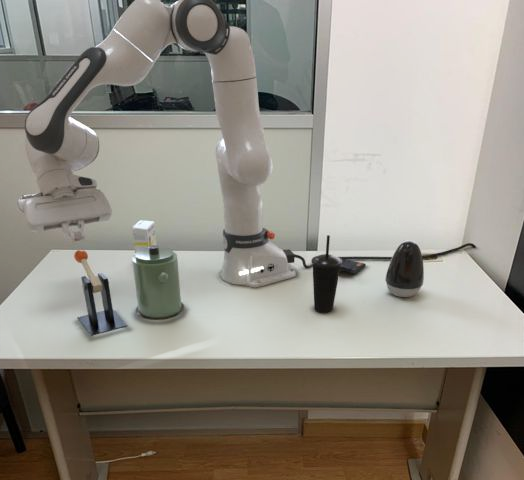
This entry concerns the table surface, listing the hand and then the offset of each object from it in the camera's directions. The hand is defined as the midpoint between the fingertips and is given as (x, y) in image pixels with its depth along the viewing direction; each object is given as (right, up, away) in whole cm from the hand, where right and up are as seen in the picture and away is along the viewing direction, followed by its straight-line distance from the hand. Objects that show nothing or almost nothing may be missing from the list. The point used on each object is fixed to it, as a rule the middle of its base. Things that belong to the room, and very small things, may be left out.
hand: (78, 240), depth 128 cm
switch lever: (+2, -8, +2) cm, 8 cm away
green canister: (+18, -17, +10) cm, 26 cm away
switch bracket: (+5, -20, +4) cm, 21 cm away
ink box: (+8, +2, +42) cm, 43 cm away
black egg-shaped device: (+84, -11, +20) cm, 87 cm away
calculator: (+69, 0, +34) cm, 77 cm away
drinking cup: (+61, -16, +12) cm, 64 cm away
